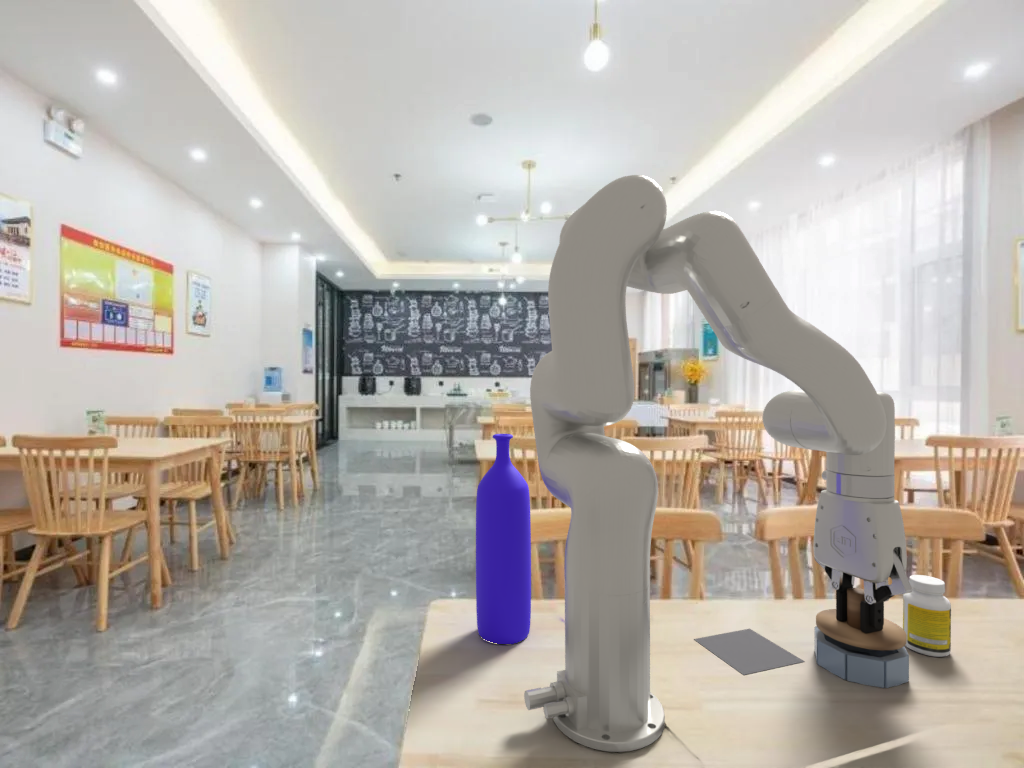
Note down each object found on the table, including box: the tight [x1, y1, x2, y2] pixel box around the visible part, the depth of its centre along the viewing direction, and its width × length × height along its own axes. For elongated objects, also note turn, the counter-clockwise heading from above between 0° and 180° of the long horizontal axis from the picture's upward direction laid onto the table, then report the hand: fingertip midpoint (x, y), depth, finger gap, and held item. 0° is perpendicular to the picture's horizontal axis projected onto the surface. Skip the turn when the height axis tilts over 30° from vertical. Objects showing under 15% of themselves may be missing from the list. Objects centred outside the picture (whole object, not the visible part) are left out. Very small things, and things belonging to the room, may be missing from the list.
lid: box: [815, 587, 907, 650], centre depth 71 cm, size 10×10×5 cm
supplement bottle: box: [902, 574, 952, 658], centre depth 77 cm, size 5×5×10 cm
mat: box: [693, 628, 805, 676], centre depth 75 cm, size 10×10×1 cm
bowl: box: [813, 626, 910, 689], centre depth 71 cm, size 10×10×4 cm
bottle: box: [475, 433, 532, 645], centre depth 82 cm, size 8×8×30 cm
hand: (859, 624), depth 71 cm, fingers closed on lid, 2 cm apart
